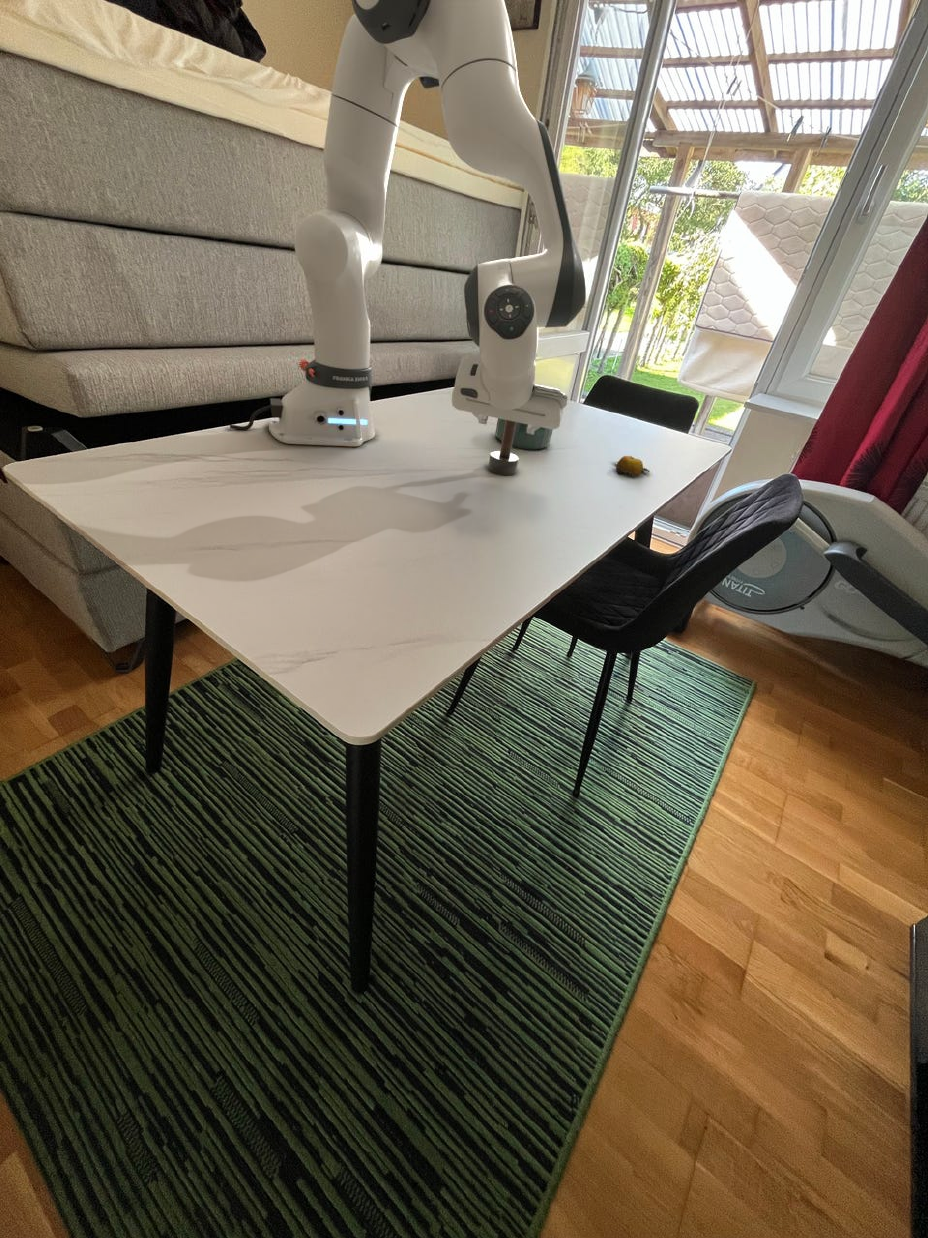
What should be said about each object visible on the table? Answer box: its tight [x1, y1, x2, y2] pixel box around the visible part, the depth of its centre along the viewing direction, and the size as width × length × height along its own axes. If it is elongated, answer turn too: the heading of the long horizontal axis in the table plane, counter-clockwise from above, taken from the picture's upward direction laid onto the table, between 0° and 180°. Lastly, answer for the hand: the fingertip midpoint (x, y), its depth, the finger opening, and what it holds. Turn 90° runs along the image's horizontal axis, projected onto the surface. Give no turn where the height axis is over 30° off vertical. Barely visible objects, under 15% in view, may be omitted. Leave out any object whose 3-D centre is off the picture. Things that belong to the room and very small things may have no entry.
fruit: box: [614, 455, 651, 477], centre depth 119 cm, size 8×8×4 cm
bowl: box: [494, 418, 553, 451], centre depth 127 cm, size 14×14×6 cm
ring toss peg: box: [487, 420, 520, 476], centre depth 105 cm, size 6×6×16 cm
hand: (507, 425), depth 100 cm, fingers open, 8 cm apart
